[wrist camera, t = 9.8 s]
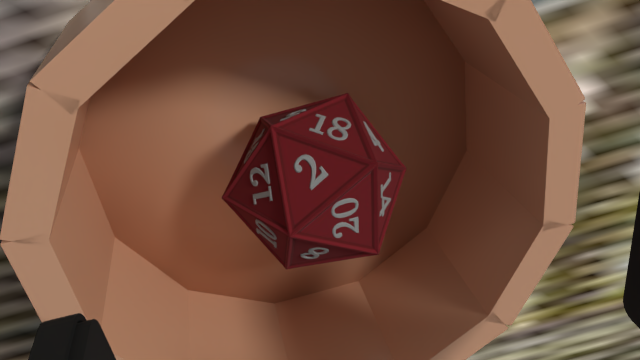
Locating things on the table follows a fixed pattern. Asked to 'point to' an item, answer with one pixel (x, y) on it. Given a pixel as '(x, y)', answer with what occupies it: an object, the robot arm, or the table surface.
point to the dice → (316, 183)
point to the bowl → (226, 151)
